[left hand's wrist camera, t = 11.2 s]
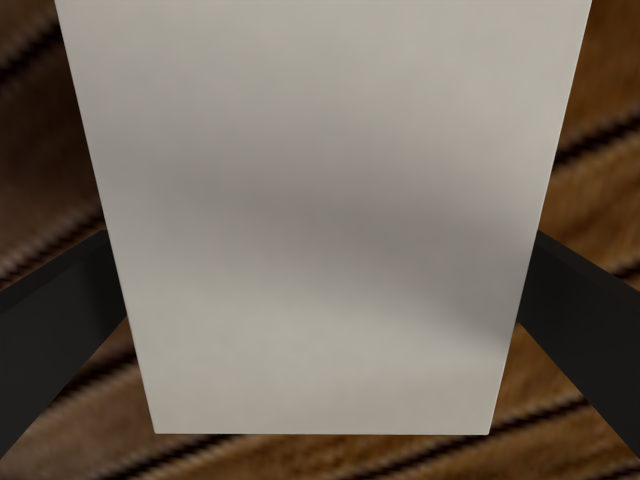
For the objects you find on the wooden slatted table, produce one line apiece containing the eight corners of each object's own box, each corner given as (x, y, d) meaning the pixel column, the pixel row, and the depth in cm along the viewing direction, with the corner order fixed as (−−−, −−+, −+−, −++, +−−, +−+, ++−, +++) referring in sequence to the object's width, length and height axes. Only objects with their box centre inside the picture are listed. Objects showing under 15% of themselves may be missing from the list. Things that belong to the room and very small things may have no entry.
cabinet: (198, -168, 14) (-169, -950, 4) (446, -169, 14) (824, -962, 4) (238, 262, 21) (154, 434, 10) (404, 263, 21) (488, 435, 10)
